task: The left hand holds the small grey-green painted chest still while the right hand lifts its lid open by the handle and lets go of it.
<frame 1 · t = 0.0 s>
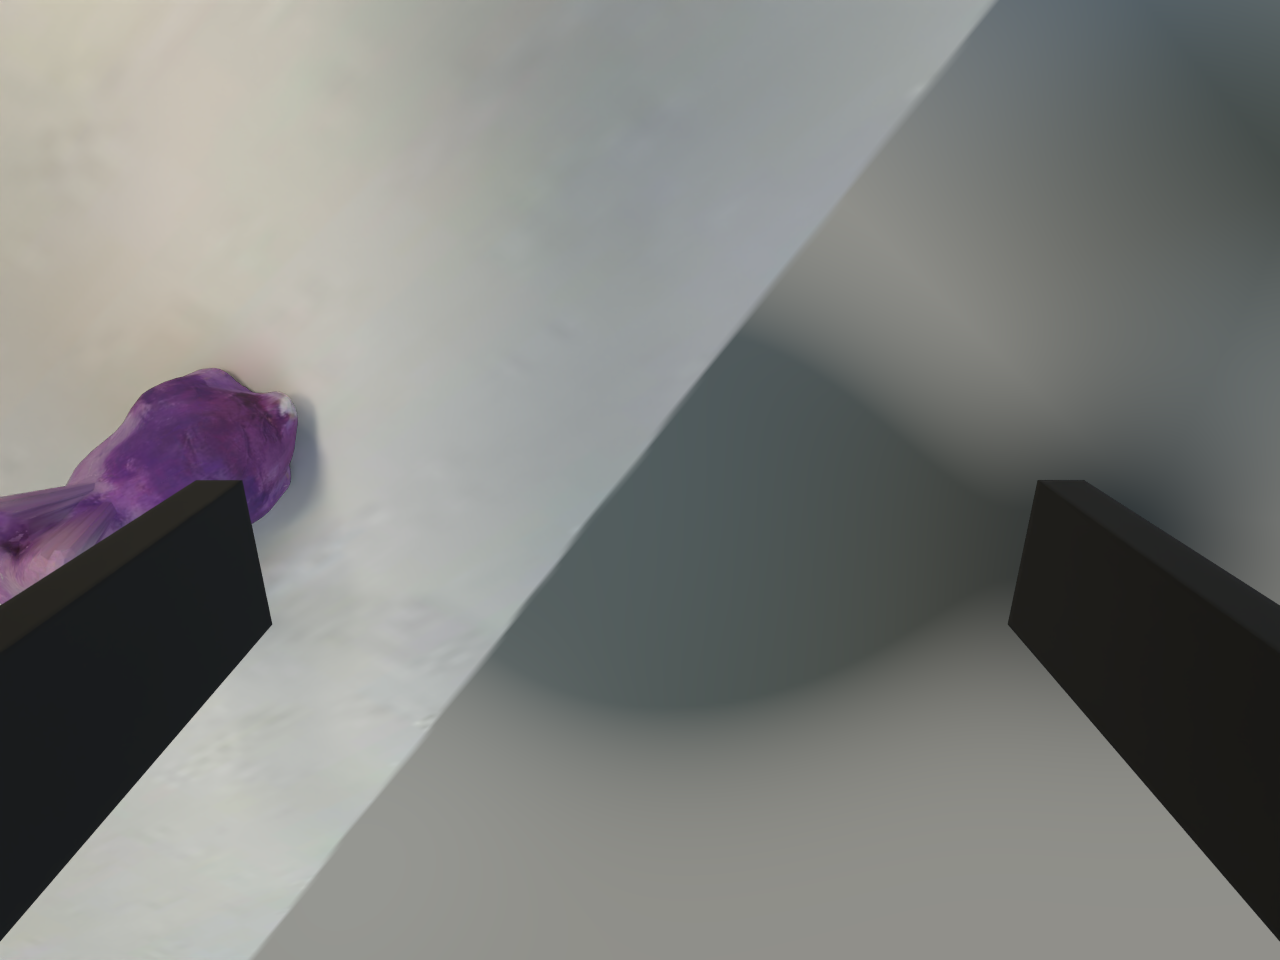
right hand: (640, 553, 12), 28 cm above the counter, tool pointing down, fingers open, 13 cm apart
figurine: (223, 452, 41), on the counter
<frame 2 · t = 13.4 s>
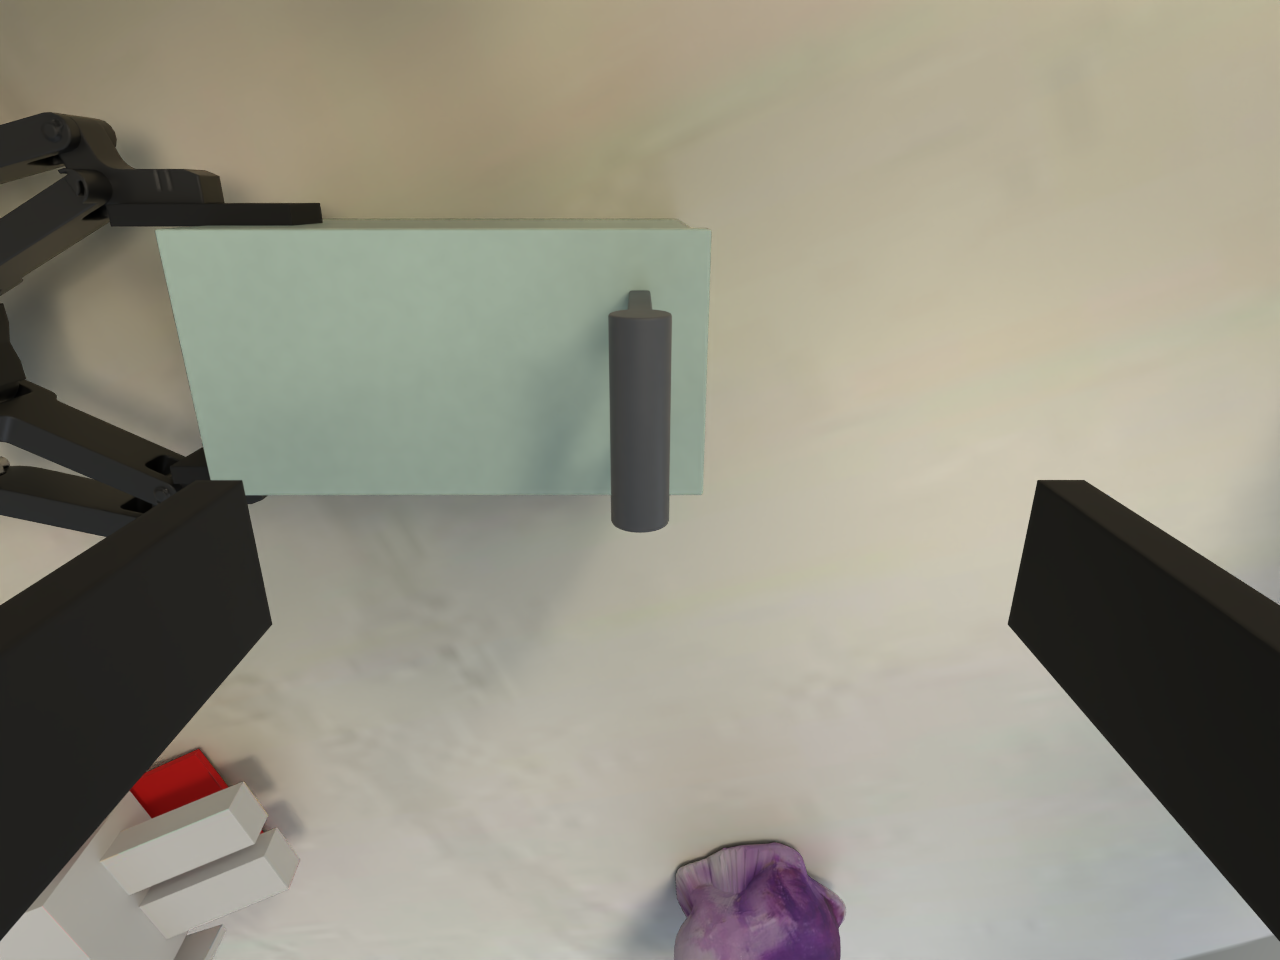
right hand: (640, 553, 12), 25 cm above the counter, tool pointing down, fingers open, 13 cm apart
chest: (496, 320, 36), on the counter, touching left hand
figurine: (741, 886, 49), on the counter
lid: (422, 392, 22), point 14 cm above the counter, hinge at 0.0°
toy: (92, 845, 48), on the counter
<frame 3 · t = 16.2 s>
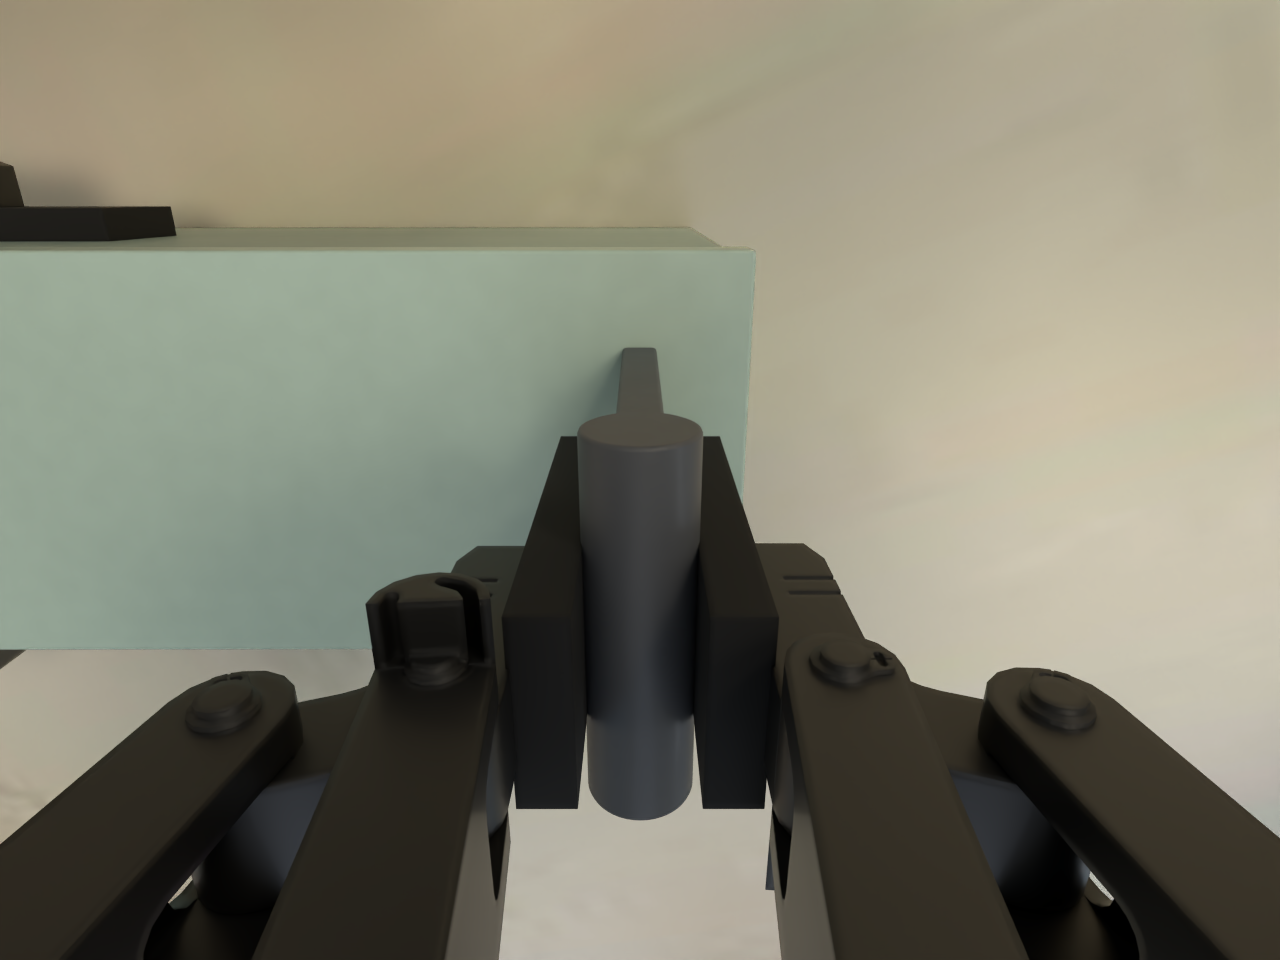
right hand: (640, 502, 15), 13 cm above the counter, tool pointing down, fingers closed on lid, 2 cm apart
chest: (447, 363, 26), on the counter, touching left hand
lid: (274, 527, 13), point 14 cm above the counter, hinge at 0.0°, touching right hand
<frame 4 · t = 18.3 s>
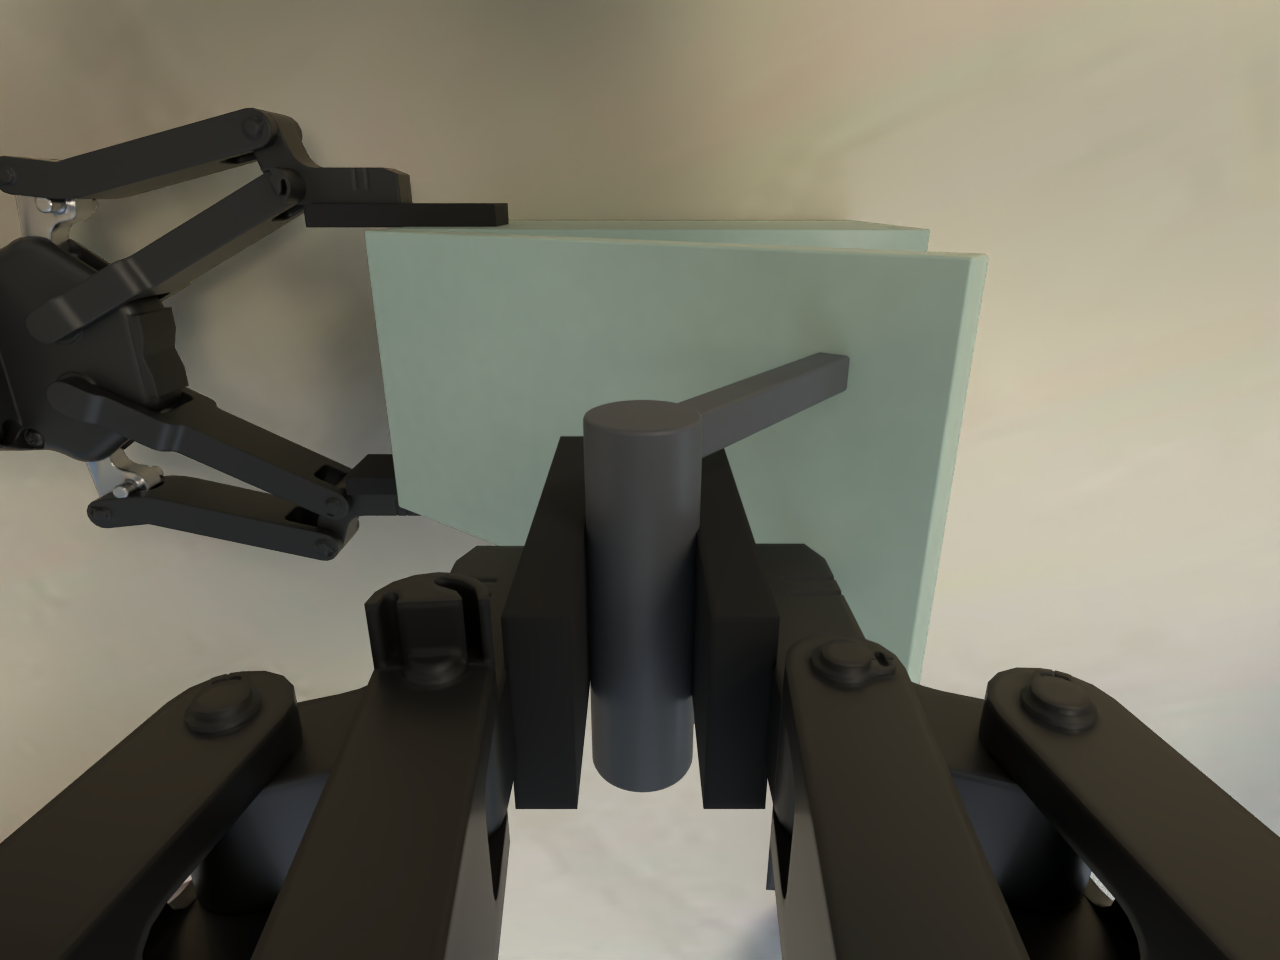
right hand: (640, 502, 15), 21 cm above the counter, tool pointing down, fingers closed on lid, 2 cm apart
left hand: (510, 352, 28), fingers closed on chest, 9 cm apart
chest: (654, 324, 34), on the counter, touching left hand
lid: (499, 455, 17), point 19 cm above the counter, hinge at 36.8°, touching right hand
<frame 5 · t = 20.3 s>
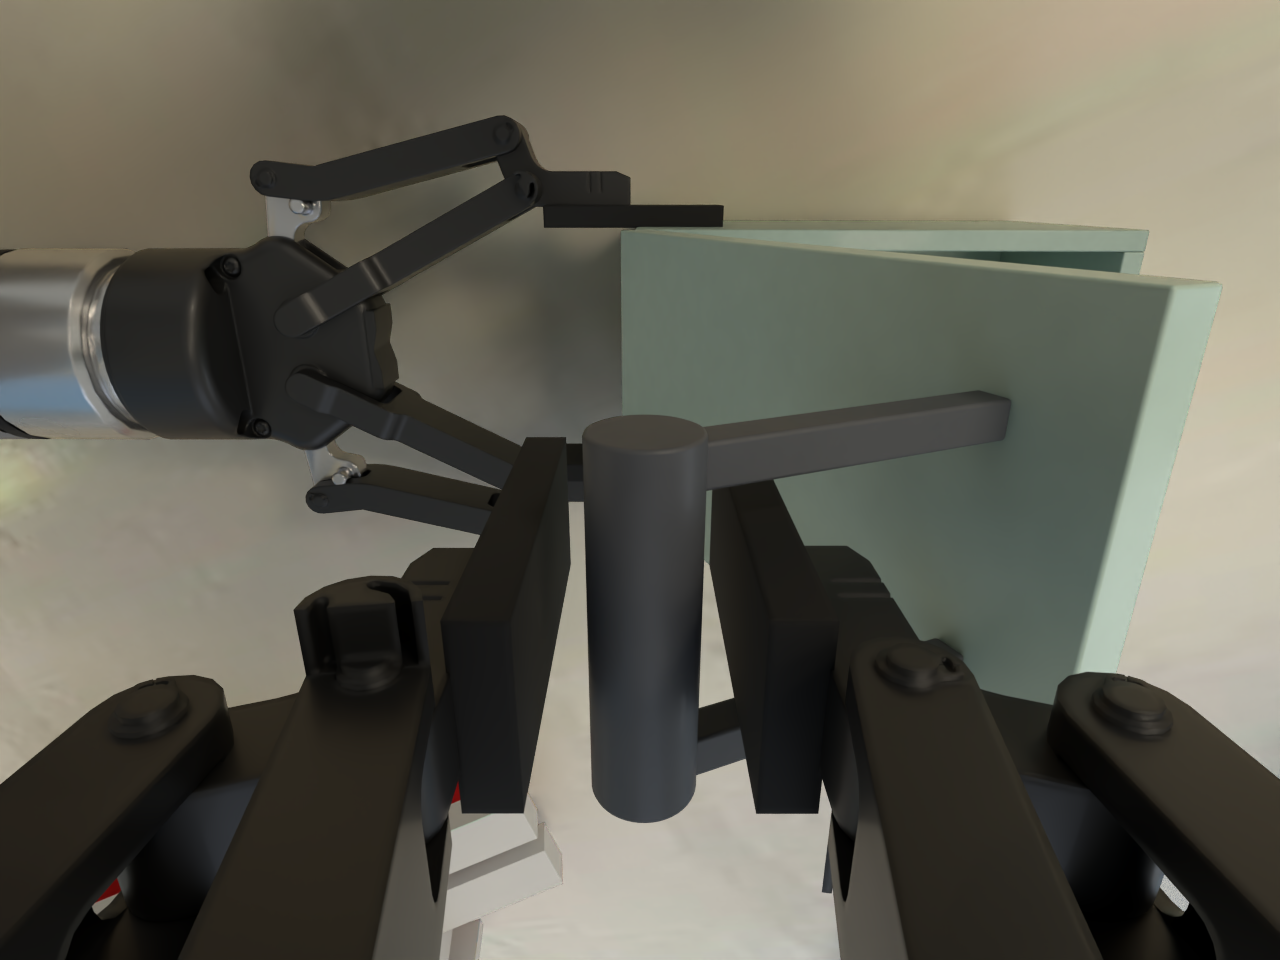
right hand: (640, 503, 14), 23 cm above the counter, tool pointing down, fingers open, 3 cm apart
left hand: (714, 346, 30), fingers closed on chest, 9 cm apart
chest: (817, 321, 36), on the counter, touching left hand
lid: (651, 454, 17), point 20 cm above the counter, hinge at 64.9°
toy: (335, 840, 48), on the counter
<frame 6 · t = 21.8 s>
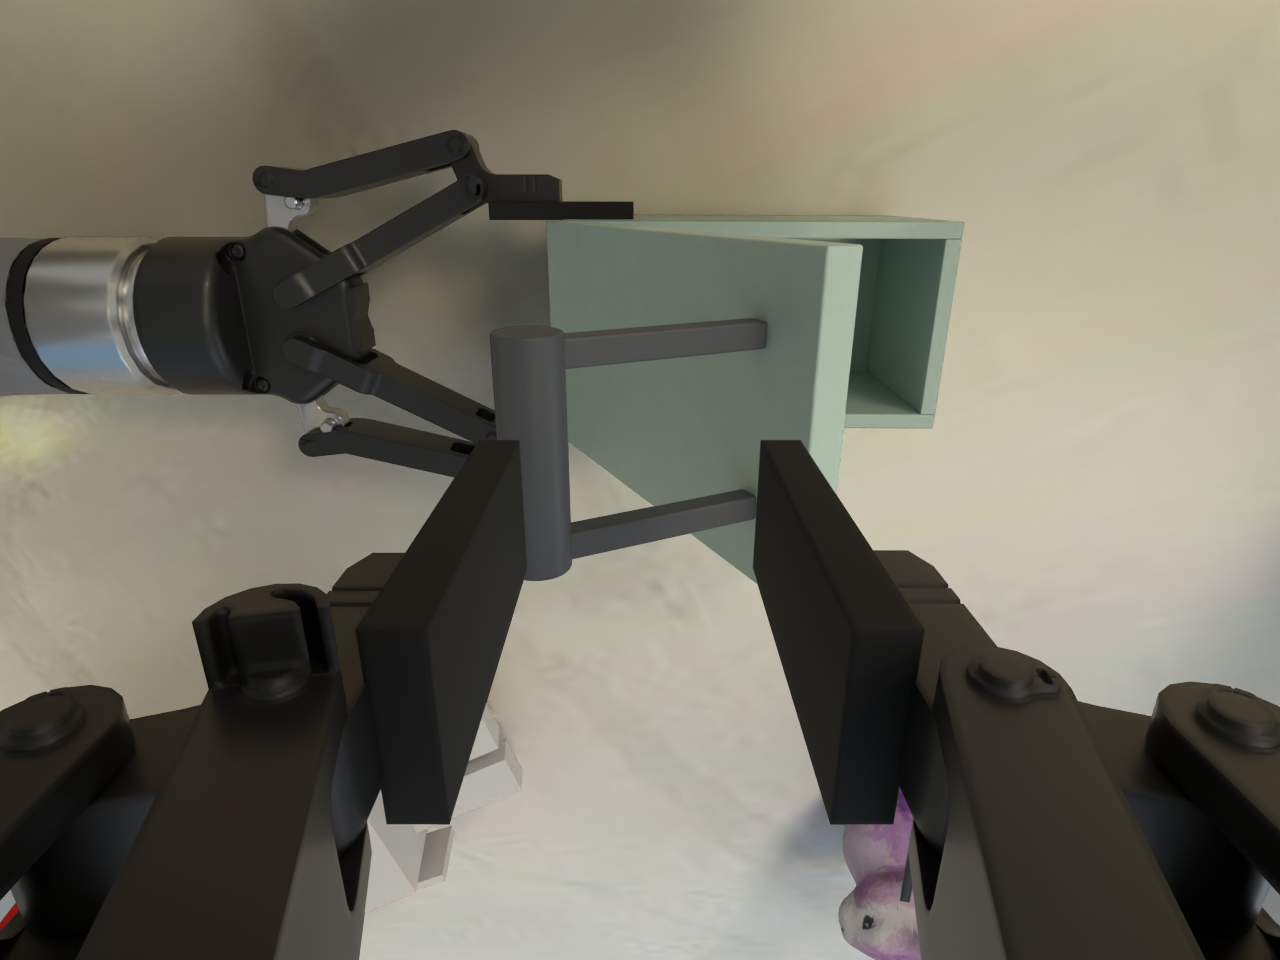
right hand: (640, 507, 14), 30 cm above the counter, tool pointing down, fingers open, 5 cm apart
left hand: (633, 317, 36), fingers closed on chest, 9 cm apart
chest: (731, 300, 43), on the counter, touching left hand
figurine: (887, 798, 56), on the counter
lid: (560, 381, 24), point 20 cm above the counter, hinge at 62.5°
toy: (325, 762, 55), on the counter
when the left hand's fingers open (7 cm above the counter, at t = 24.4 s): chest stays where it is, on the counter.
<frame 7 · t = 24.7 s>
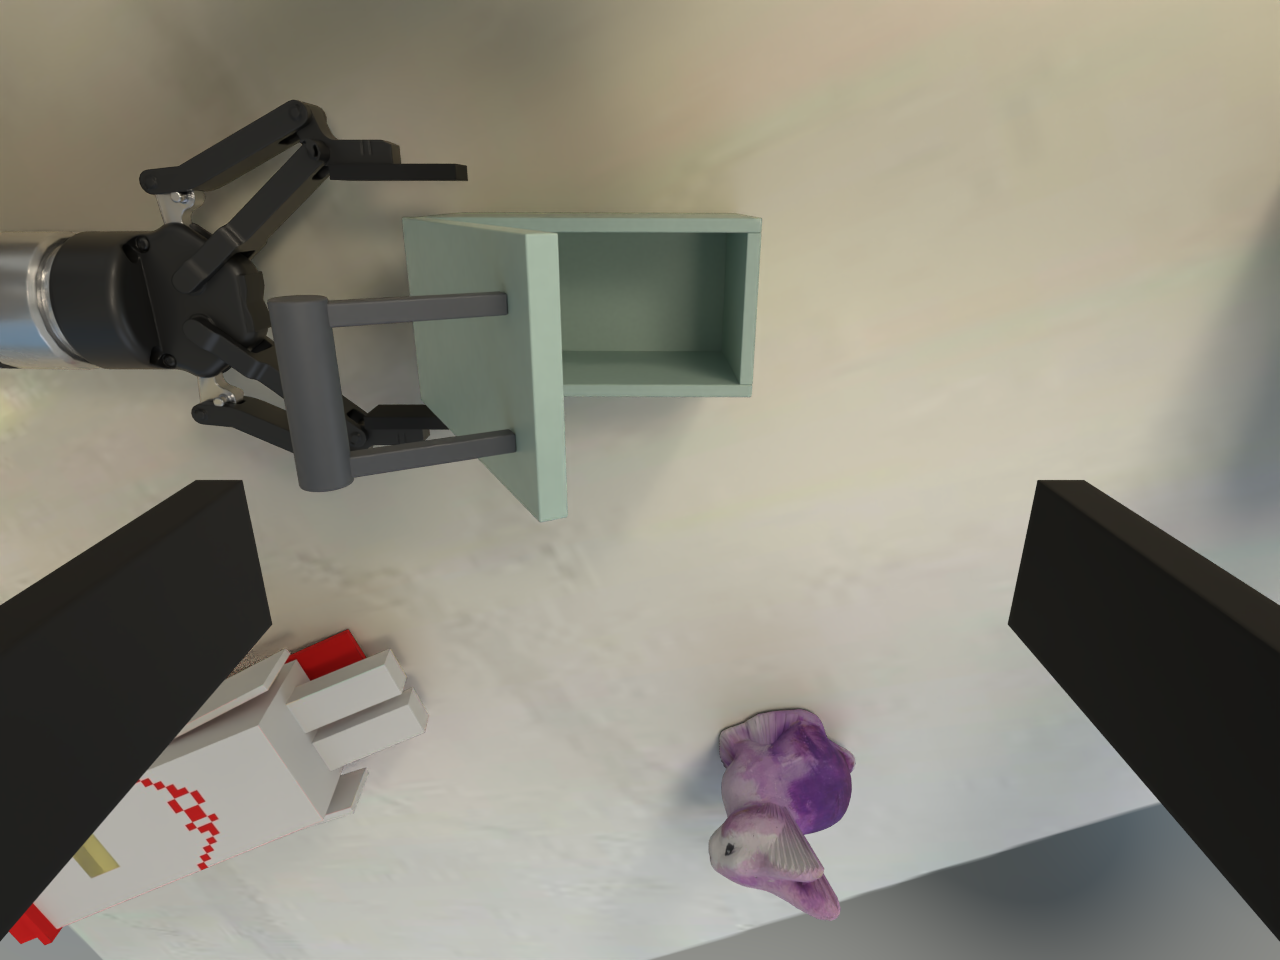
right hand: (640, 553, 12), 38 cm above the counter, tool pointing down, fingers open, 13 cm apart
left hand: (472, 301, 42), fingers open, 13 cm apart
chest: (600, 288, 48), on the counter
figurine: (771, 748, 61), on the counter
lid: (383, 348, 29), point 20 cm above the counter, hinge at 62.2°
toy: (255, 712, 60), on the counter
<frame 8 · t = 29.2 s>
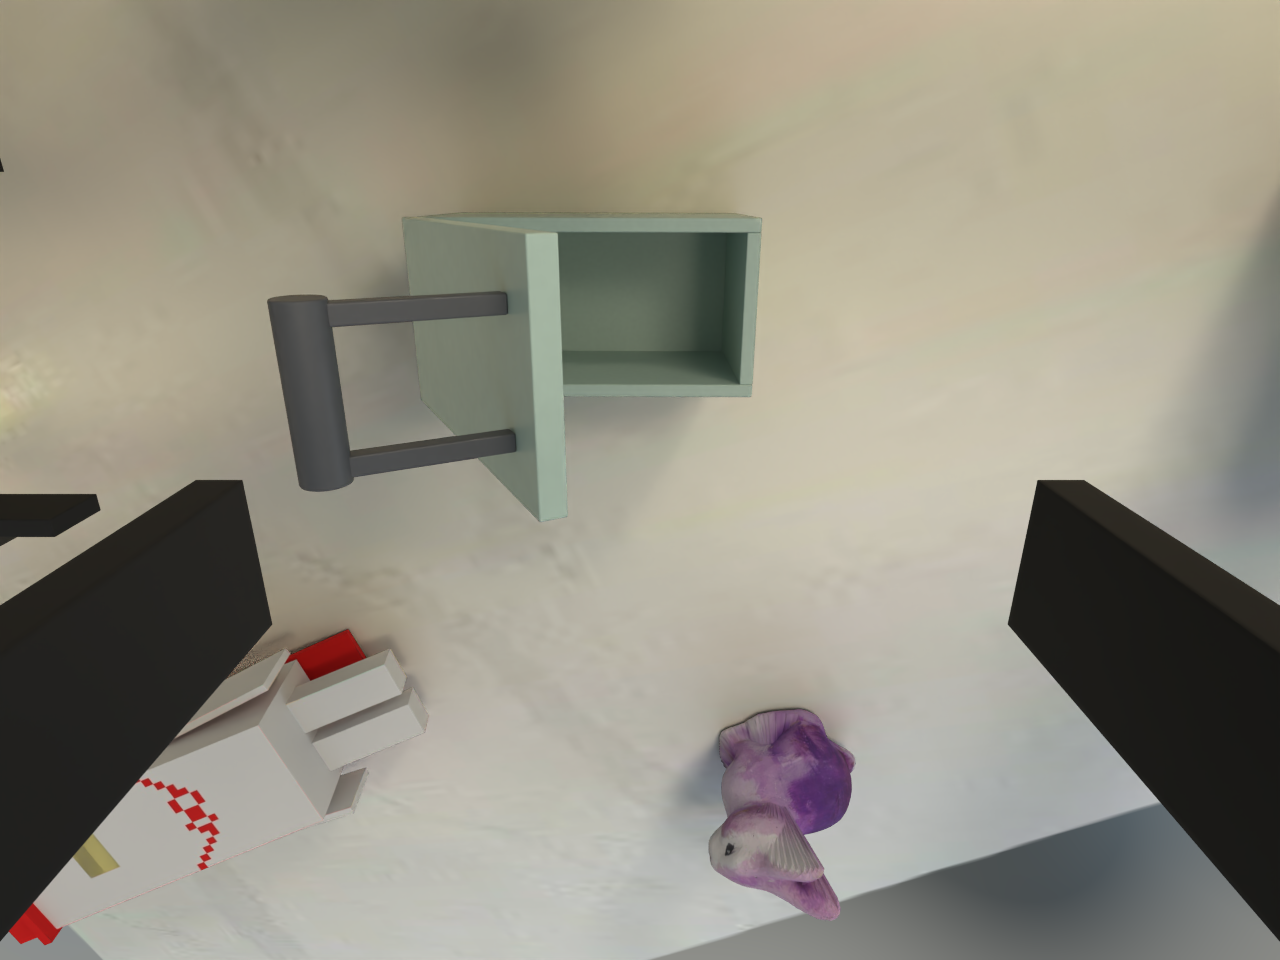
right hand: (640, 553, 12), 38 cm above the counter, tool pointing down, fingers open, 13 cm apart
chest: (600, 288, 48), on the counter
figurine: (771, 748, 61), on the counter
lid: (383, 347, 29), point 20 cm above the counter, hinge at 62.2°
toy: (255, 712, 60), on the counter
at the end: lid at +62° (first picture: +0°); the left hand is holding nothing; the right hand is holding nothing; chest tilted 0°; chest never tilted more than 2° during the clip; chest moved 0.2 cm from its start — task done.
